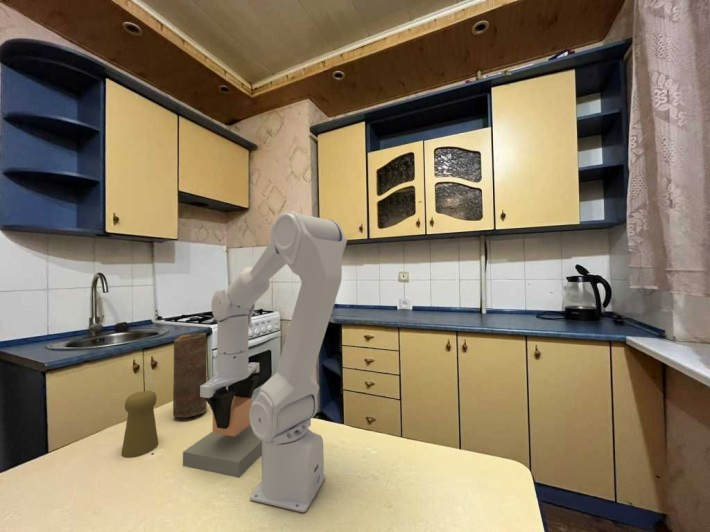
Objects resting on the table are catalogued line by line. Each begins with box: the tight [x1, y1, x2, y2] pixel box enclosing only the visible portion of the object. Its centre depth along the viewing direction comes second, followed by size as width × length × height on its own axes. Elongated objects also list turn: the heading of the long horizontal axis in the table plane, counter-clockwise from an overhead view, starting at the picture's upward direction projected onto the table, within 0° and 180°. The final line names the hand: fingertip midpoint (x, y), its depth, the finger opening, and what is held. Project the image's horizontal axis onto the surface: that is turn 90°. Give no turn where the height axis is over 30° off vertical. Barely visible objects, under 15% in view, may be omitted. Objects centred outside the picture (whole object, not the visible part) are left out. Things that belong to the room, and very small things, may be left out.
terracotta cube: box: [212, 395, 252, 436], centre depth 57 cm, size 5×5×5 cm
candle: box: [172, 332, 208, 418], centre depth 73 cm, size 8×7×20 cm
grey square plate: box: [182, 425, 262, 479], centre depth 57 cm, size 12×12×3 cm
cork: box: [120, 390, 159, 459], centre depth 59 cm, size 6×6×11 cm
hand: (233, 420), depth 57 cm, fingers closed on terracotta cube, 5 cm apart
